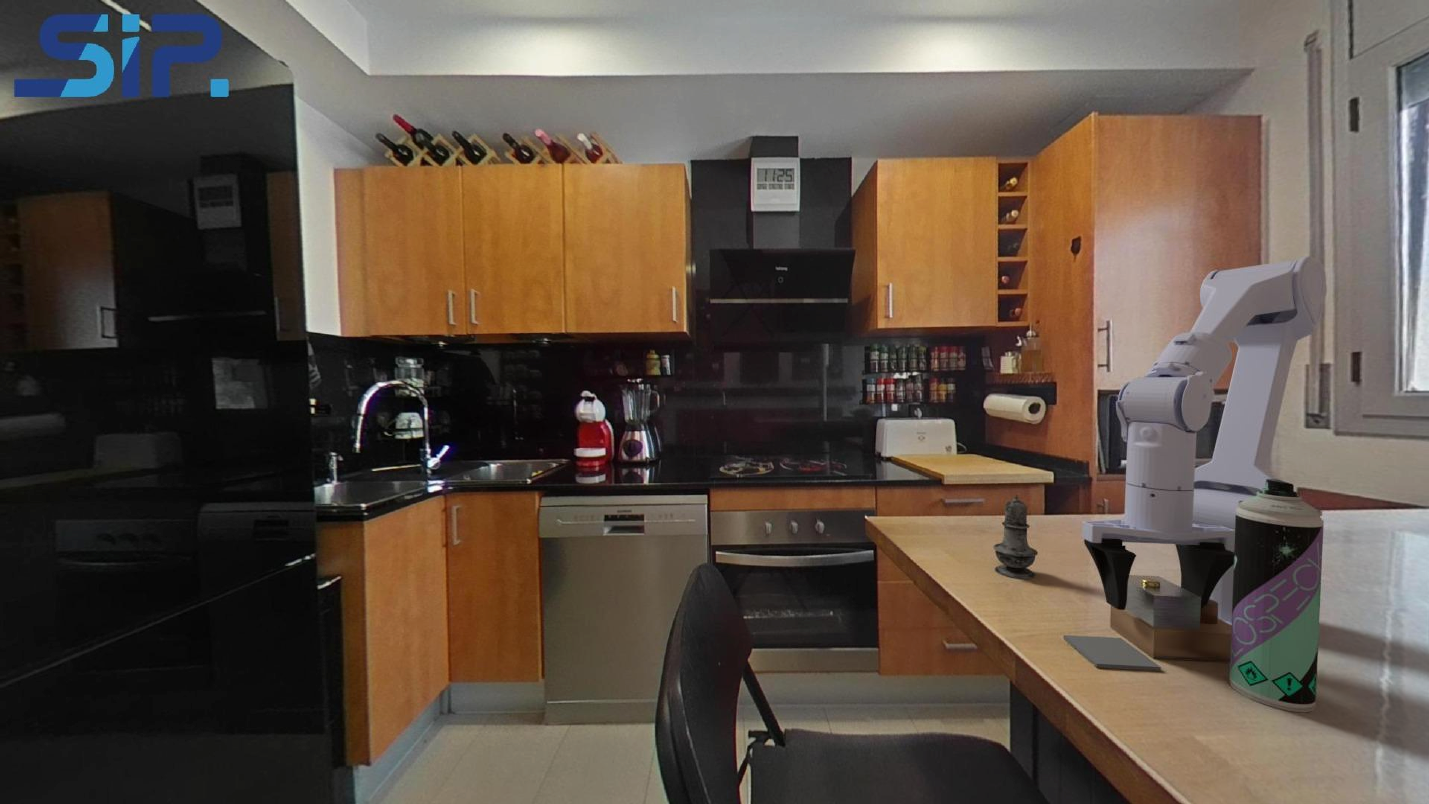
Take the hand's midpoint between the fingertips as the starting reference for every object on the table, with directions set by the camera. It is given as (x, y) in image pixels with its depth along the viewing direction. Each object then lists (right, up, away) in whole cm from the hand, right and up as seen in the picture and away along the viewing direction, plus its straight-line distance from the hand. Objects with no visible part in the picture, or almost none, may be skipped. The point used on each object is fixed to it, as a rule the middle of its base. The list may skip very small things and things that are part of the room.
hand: (1153, 607), depth 58 cm
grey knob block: (0, -1, 0) cm, 1 cm away
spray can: (+3, -5, -9) cm, 11 cm away
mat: (-7, -4, -2) cm, 8 cm away
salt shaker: (-3, -3, +22) cm, 22 cm away
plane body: (+2, -4, 0) cm, 5 cm away
